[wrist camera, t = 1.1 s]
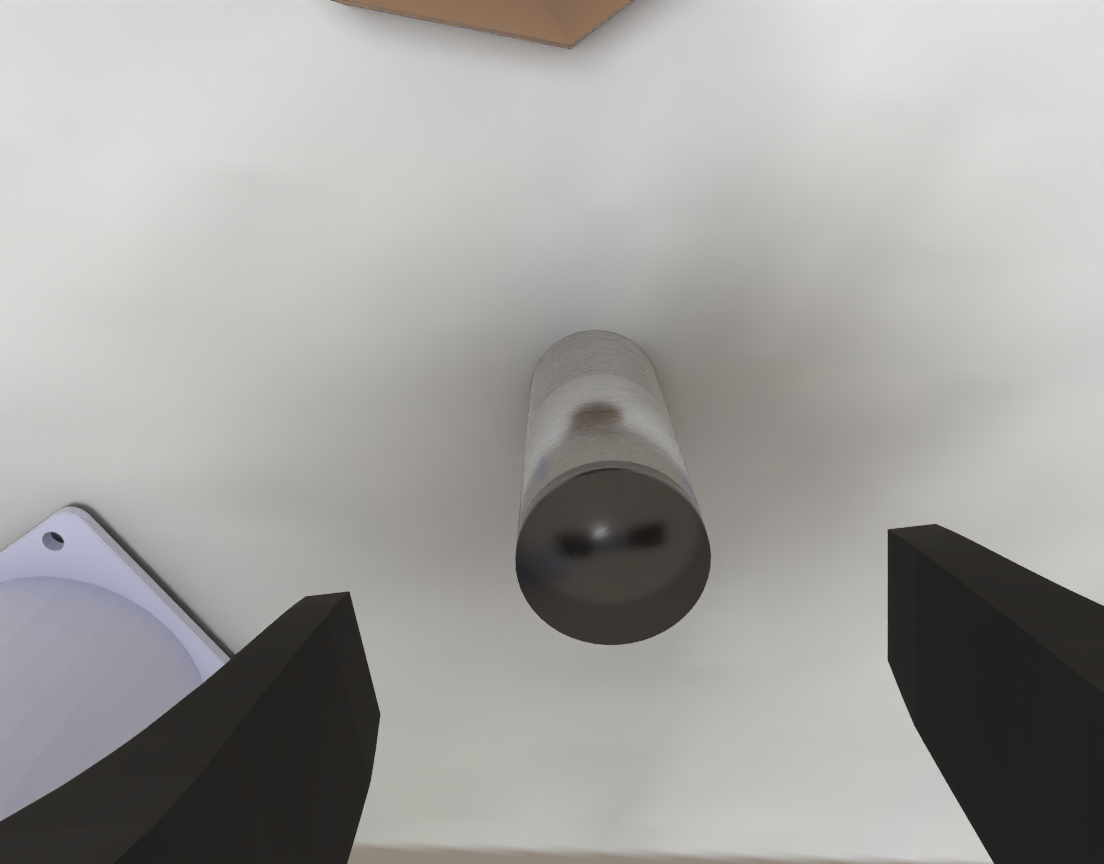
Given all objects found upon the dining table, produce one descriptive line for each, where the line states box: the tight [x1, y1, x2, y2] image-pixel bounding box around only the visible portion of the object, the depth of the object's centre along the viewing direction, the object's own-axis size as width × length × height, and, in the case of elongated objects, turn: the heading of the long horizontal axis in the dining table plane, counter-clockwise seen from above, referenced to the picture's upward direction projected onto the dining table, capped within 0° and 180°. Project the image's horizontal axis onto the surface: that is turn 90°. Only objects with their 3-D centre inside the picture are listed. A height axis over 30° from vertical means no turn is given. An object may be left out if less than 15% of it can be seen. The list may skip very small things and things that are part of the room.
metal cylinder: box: [516, 331, 711, 645], centre depth 18 cm, size 3×3×8 cm
